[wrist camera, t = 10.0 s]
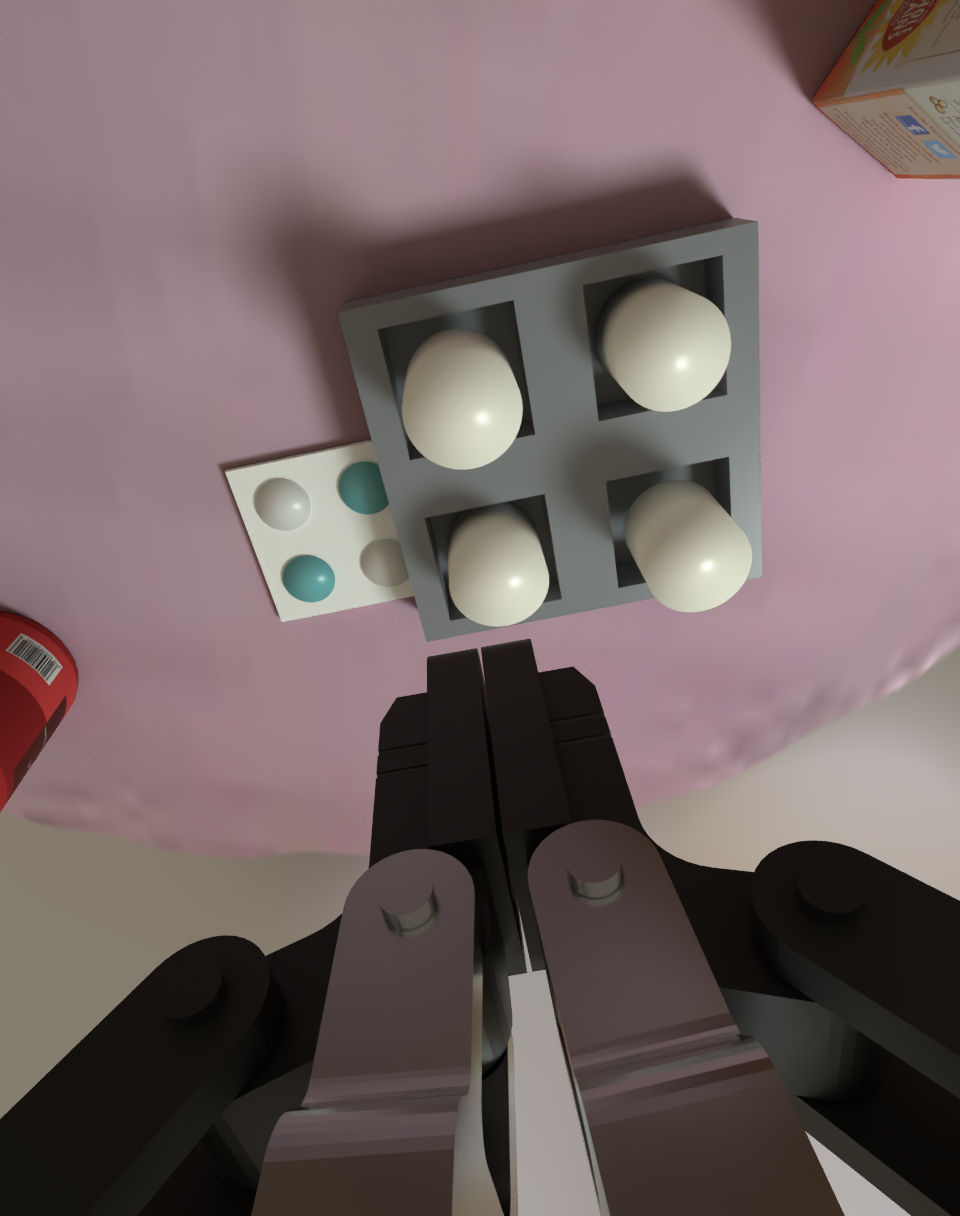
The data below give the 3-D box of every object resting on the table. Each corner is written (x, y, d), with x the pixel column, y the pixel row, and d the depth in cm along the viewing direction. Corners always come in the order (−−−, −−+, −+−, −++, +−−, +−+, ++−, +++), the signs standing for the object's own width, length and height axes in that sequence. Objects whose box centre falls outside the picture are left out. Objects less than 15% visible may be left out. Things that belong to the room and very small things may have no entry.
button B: (601, 395, 37) (621, 422, 33) (589, 290, 35) (609, 306, 31) (700, 374, 37) (732, 399, 33) (695, 268, 34) (729, 280, 30)
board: (427, 613, 44) (426, 641, 41) (344, 302, 35) (336, 312, 33) (741, 552, 43) (761, 577, 40) (733, 217, 34) (757, 221, 32)
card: (283, 618, 43) (281, 623, 43) (226, 469, 39) (224, 473, 38) (438, 588, 43) (438, 592, 42) (399, 433, 38) (399, 436, 38)
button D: (628, 576, 40) (650, 621, 36) (619, 490, 37) (641, 528, 33) (720, 557, 40) (753, 601, 36) (717, 470, 37) (751, 506, 33)
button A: (419, 445, 36) (417, 480, 32) (394, 340, 33) (388, 363, 29) (520, 424, 36) (531, 456, 32) (502, 317, 33) (511, 337, 29)
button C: (457, 590, 42) (460, 634, 38) (438, 510, 40) (439, 549, 36) (544, 573, 42) (555, 616, 38) (530, 492, 39) (540, 528, 35)
